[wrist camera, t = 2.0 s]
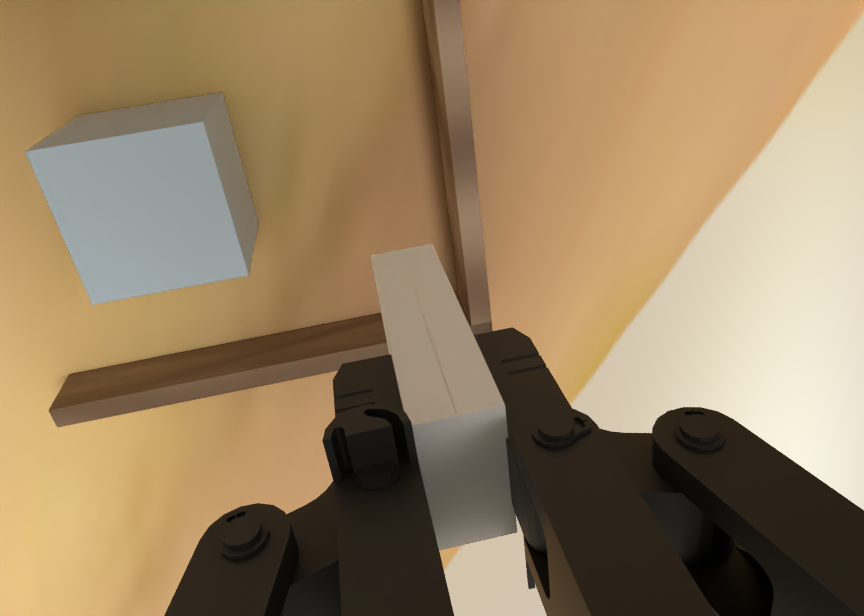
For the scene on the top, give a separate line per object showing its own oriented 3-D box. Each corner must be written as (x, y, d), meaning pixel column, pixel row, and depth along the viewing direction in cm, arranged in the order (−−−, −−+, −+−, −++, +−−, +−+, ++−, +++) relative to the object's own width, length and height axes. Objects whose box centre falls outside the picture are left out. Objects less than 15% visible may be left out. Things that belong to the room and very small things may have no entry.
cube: (78, 115, 28) (25, 151, 22) (222, 91, 28) (203, 121, 23) (129, 245, 30) (92, 305, 25) (258, 222, 31) (248, 275, 26)
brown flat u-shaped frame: (-141, -57, 24) (-197, -59, 21) (430, -137, 25) (444, -148, 23) (77, 390, 33) (57, 427, 31) (479, 310, 35) (493, 338, 32)
